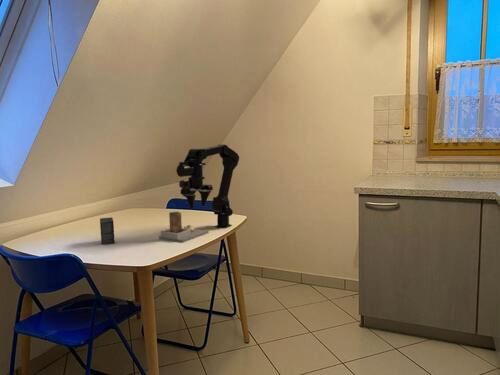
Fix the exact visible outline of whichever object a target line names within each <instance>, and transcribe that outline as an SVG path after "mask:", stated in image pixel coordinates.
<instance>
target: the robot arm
mask: <svg viewBox="0 0 500 375" xmlns="http://www.w3.org/2000/svg"><path fill="white" fill-rule="evenodd" d="M215 155H219V157H220V158H221V159H222V162H221V164H222V166H223V171H222V176H221V181H220V184H219V190H218V193H217V194H218V195H216V196H214V197H213V198H212V202H211V205H212V206H211V210H212V211H213V214H214V215H217V217H216V218H217V219H216V222H217V223H216V224H217V225H215V226H214V227H216V228H222V229H223V228H224V229H226V228H229V227H231V226H232V223H231V224H230V217H231V216H232V215H233V213H234V210H232V208H231V207H230V200H229V193H230V192H229V191H230V188H231V187H230V186H231V182H232V178H233V172H234V170H235V168H236V167H237V166H238V165H239V161H240V156H239V154H238V153H237V152H236V151H235V150H234V149H232V148H230V147H229V146H228V145H226V144H217V145H214V146H210V147H206V148H190V149H189V150H188V153H187V155H186V156H185V158H184V161H179V164H178V165H177V167H176V174H177V176H178V177H180V178H183V177H188V180H184V179H183V180H179V186H178V187H180V188H181V189H180V190H179V191H180V195H182V197H184V198H186V200H187V202H188V203H187V204H189V205H188V206H189V208H190V210H191V209H194V205H195V201H196V195H197V194H196V192H198V193H199V194H200V200H201V201H200V202H201V206H202V207H203V206H205V204H206V202H207V200H208V198H209V196H210V194H211V193H212V191H213V190H214V188H213V185H212V184H210V183H209V184H208V183H207V184H206V183H204V181H203V180H205V179H206V178H205V176H203V175H204V174H203V166H206V165H207V164H206V162H204V160H206V159H207V158H208V157H211V156H215Z"/></svg>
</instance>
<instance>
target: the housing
mask: <svg viewBox="0 0 500 375" xmlns="http://www.w3.org/2000/svg"><path fill="white" fill-rule="evenodd" d="M160 233H161V234H160V236H159V237H158V239H159V240H165V241H170V242H171V241H172V242H177V243H185V242H187V241H190V240H193V239H196V238H198V237H201V236H203V235H204V236H205V235H206V234H209V230H206V229H204V230H203V229H198V228H195V226H192V225H191V224H187V226H183V228H182V232H180V233H171V232H170V228H168V229H166V230H162V231H160Z"/></svg>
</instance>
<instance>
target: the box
mask: <svg viewBox="0 0 500 375" xmlns="http://www.w3.org/2000/svg"><path fill="white" fill-rule="evenodd" d="M113 219H114V218H113V217H112V216H111V217H102V218H101V217H100V218H99V227H100V228H99V229H100V241H101V246H102V245H103V246H104V245H113V244H115V243H116V242H115V241H116V240H115V226H114V220H113Z"/></svg>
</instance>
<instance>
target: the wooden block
mask: <svg viewBox="0 0 500 375" xmlns="http://www.w3.org/2000/svg"><path fill="white" fill-rule="evenodd" d="M168 213H169V215H168V216H169V229H170V232H171V233H180V232H182V227H183V225H182V223H183V222H182V212H180V211H171V212H168Z"/></svg>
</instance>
